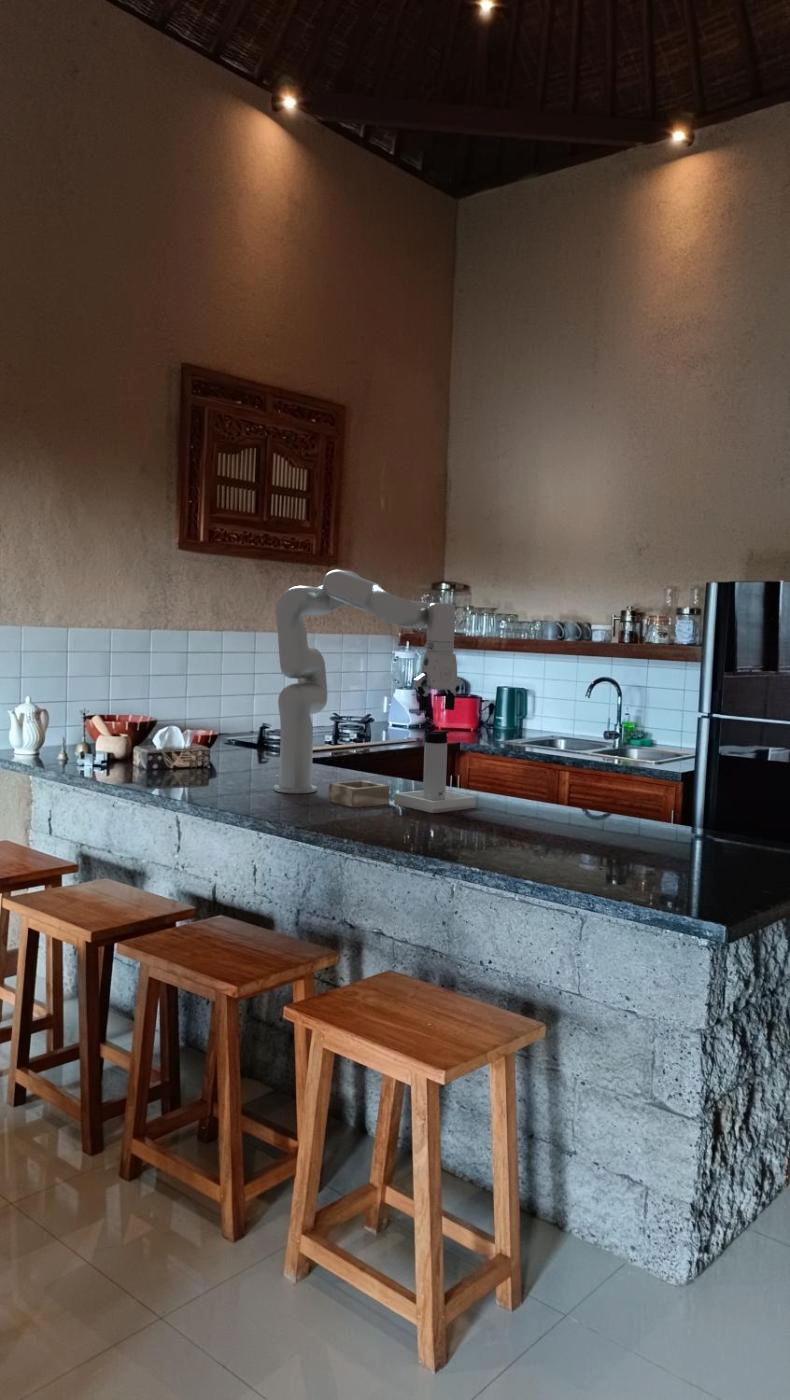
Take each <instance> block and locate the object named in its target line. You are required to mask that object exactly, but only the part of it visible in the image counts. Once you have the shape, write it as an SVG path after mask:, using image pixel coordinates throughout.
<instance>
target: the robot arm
mask: <svg viewBox="0 0 790 1400" xmlns="http://www.w3.org/2000/svg"><path fill="white" fill-rule="evenodd" d="M346 605H347V606H351V607H354V608H355V609H359V610H361V611H362V612H365V613H368V614H369V615H372V616H374V617H376V618H377V619H380V620H382V621H384V622H387V623H389V624H392V625H394V626H398V627H401V628H403V629H426V643H425V644H424V649H425V650H426V651H425V652H424V654H423V658H422V663H421V671H420V673H421V674H420V675H418V676H417V677H416V678H414V679H412V680H413V681H412V682H413V685H414V689H415V691H416V692H417V693H416V694H417V696H419V700H418V702H419V703H418V710H419V711H422V712H428V711H429V707H430V705H429V704H430V703H429V701H430V696H428V694H430V692H431V690H433V691H435V690H436V691H441V690H442V691H443V690H445V692H446V695H445V698H444V709H445V710H448V711H454V710H455V701H456V700H455V699H456V696H457V695H458V692H459V690H460V689H461V685H462V682H463V679H461V678H460V677H459V676H458V663H457V662H458V661H457V656H456V653H454V647H455V646H454V645H455V627H456V625H455V624H456V606H455V605H454V604H453V603H448V602H447V603H446V602H431V603H430V602H424V601H421V600H420V601H418V600H410V599H406V598H403V597H400V596H397V595H396V594H395V595H394V594H392V593H389V592H387V591H385V590H384V589H382V586H381V585H380V584H379V583H376V582H375V581H371V580H369V579H366V578H363V577H361V576H360V575H359V574H358V573H356V572H354V571H351V570H350V571H349V570H344V569H334V570H331V571H329V572H327V573H326V574H325V576H324V577H323V579H322V584H321V585H320V586H316V587H315V586H309V585H297V586H293V587H291V588H288V589H287V590H285V591H284V592H283V593H282V594H281V595H280V596H279V598H278V600H277V602H276V606H275V622H276V628H277V643H278V657H279V666H280V671H281V674H282V675H284V676H285V677H286V678H288V679H291V680H293V679H295V680H296V679H297V683H296V682H295V683H292V684H291V683H290V684H289V685H287V686H285V687H283V688H282V690H281V691H280V693H279V695H278V701H277V704H278V713H279V723H280V736H279V738H280V742H279V744H280V745H279V746H280V747H279V750H280V751H279V773H278V774H277V775H275V777H274V779H275V780H276V781H278V782H277V783H278V784H275V785H274V786H273V790H274V792H278V793H284V794H310V793H315V792H317V790H318V787H317V786H316V785H314V784H312V783H313V782H312V781H313V753H314V752H313V750H314V749H313V748H314V745H313V743H314V726H313V721H312V717H311V715H314V714H315V715H316V714H318V713H320V712H322V711H323V709H325V707H326V705H327V702H328V684H327V683H328V682H327V671H326V670H327V669H326V663H325V659H324V657H323V654H322V652H320V650H319V649H317V648H316V647H313V646H309V644H308V633H307V632H308V631H307V628H306V625H305V622H304V619H303V618H304V617H305V616H309V617H310V616H312V617H313V616H314V617H320V616H321V617H322V616H324V615H325V616H326V615H327V614H330V613H332V612H334V611H337V609H341V608H342V607H344V606H346Z"/></svg>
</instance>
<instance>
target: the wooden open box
mask: <svg viewBox="0 0 790 1400" xmlns="http://www.w3.org/2000/svg"><path fill="white" fill-rule="evenodd" d="M328 802H330V803H335V804H339V805H343V806H347V807H352V808H354V807H357V808H362V807H363V806H365V807H371V806H372V807H373V806H380V805H381V806H382V805H389V804H390V785H387V784H384V783H383V784H382V783H377V782H373V781H368V780H363V779H359V780H349V781H338V782H337V781H336V782H328ZM363 808H364V807H363Z"/></svg>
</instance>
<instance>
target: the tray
mask: <svg viewBox="0 0 790 1400" xmlns="http://www.w3.org/2000/svg"><path fill="white" fill-rule="evenodd" d="M476 799H477V797H476V796H473V795H468V794H464V793H463V794H462V793H459V792H454V791H449V790H446V796H445V800H438V801H431V800H427V799H423V789H422V790H414V791H412V790H411V791H402V792H395V793H394V796H393V805H397V806H401V807H405V808H408V809H413V810H416V811H417V810H418V811H423V812H427V813H431V814H436V813H437V814H439V813H444V812H454V811H462V810H469V809H475V808H476V801H477V800H476Z"/></svg>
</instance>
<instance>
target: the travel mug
mask: <svg viewBox="0 0 790 1400" xmlns="http://www.w3.org/2000/svg"><path fill="white" fill-rule="evenodd" d="M449 734H450V731H449V730H438V731H437V730H436V731H429V732H426V733H425V735H424V736H425V737H424V738H425V739H424V750H423V751H424V752H423V753H424V754H423V781H422V785H423V787H422V788H423V789H422V790H423V799H427V800H431V801H438V800H445V796H446V791H447V765H448V763H447V762H448V761H447V759H448V735H449Z"/></svg>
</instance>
